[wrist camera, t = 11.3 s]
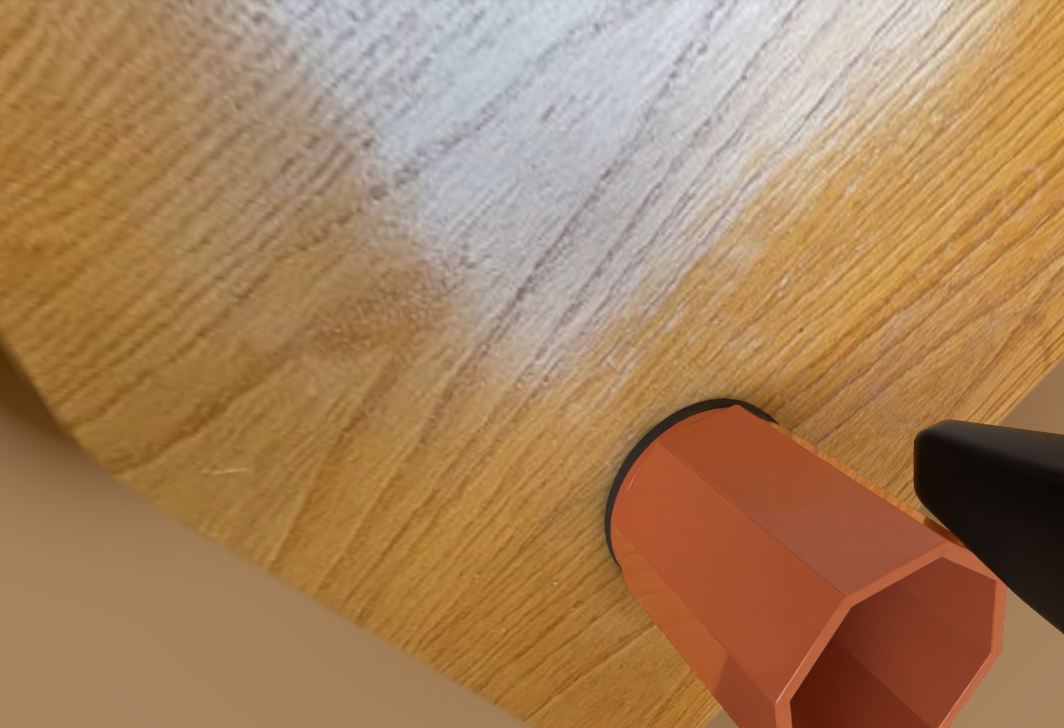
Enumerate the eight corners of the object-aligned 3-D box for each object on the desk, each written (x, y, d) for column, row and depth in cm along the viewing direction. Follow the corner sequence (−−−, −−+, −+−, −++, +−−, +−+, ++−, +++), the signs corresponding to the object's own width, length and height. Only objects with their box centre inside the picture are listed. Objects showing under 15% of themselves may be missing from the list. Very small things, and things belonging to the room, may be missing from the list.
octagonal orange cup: (629, 623, 25) (790, 835, 18) (591, 459, 22) (767, 640, 15) (794, 538, 27) (998, 703, 20) (780, 374, 24) (1015, 503, 17)
